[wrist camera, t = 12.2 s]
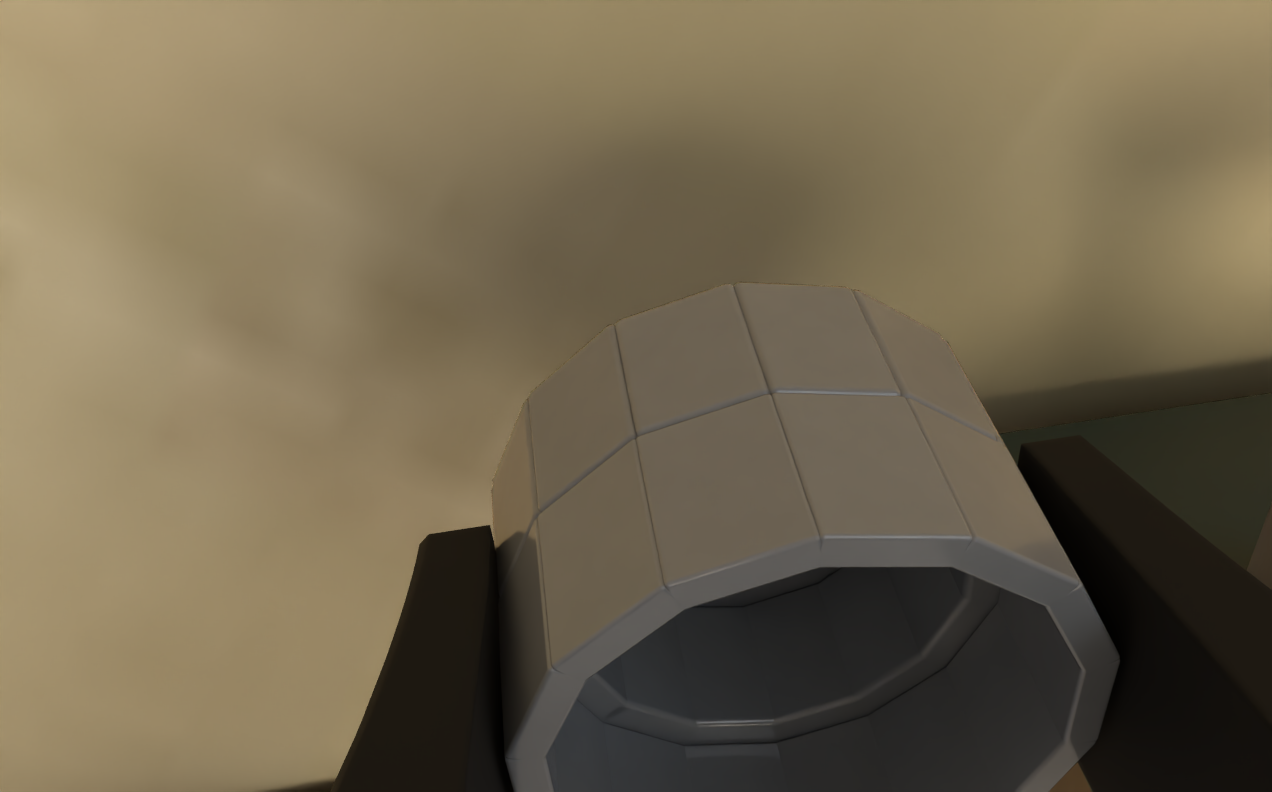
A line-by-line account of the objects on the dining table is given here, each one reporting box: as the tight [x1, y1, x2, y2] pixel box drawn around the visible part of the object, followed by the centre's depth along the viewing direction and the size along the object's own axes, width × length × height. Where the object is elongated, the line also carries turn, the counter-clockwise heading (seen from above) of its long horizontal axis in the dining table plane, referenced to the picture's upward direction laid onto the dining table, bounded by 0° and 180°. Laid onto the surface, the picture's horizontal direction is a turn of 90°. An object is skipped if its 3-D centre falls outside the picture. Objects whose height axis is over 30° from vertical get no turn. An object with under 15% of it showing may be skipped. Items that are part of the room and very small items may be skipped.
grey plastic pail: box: [491, 282, 1120, 792], centre depth 12 cm, size 5×5×4 cm
